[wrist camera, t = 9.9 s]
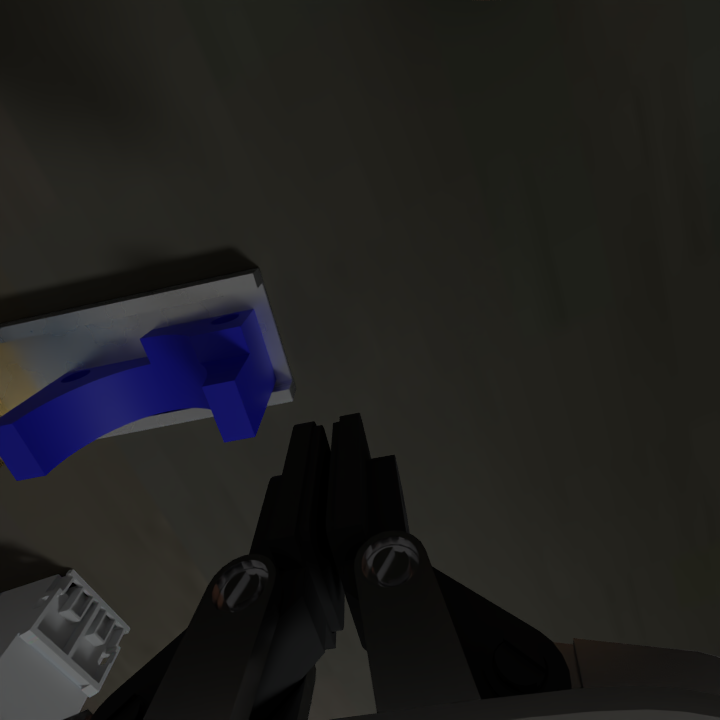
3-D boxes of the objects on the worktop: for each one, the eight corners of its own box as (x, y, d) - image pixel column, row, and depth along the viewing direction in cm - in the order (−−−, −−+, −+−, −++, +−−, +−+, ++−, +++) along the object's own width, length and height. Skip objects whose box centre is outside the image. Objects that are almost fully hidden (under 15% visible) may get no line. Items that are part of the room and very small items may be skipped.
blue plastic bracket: (254, 308, 23) (222, 349, 17) (276, 379, 25) (255, 436, 19) (53, 349, 24) (-38, 401, 18) (89, 415, 25) (16, 480, 20)
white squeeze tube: (296, 389, 25) (289, 414, 22) (11, 444, 26) (-28, 475, 24) (258, 267, 22) (245, 279, 19) (-61, 336, 23) (-116, 357, 21)
